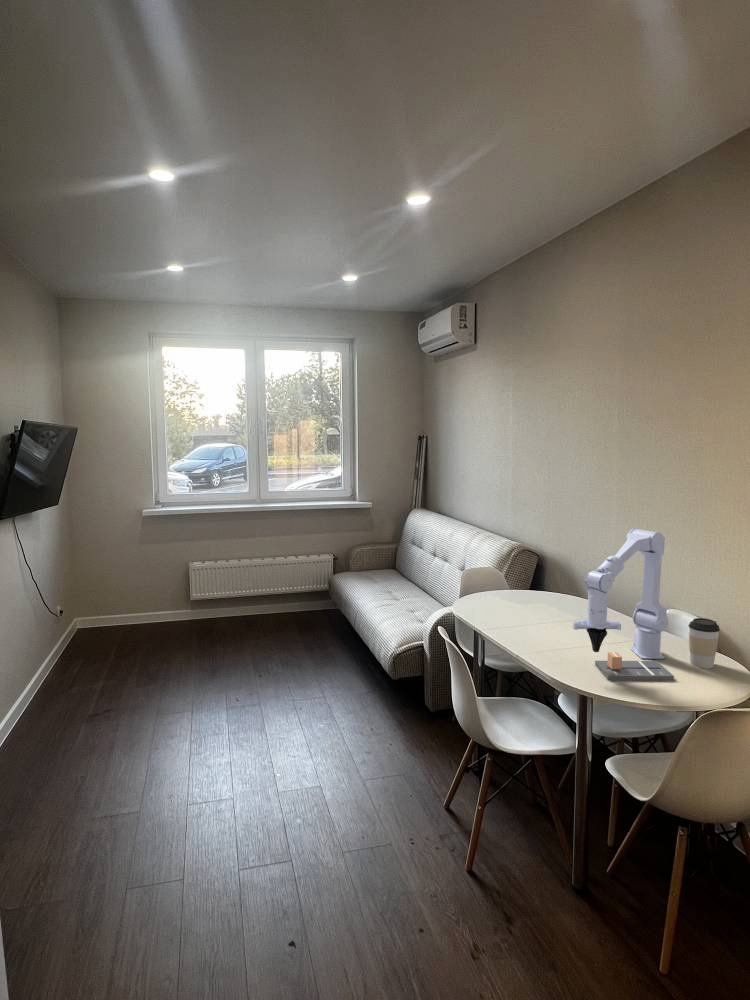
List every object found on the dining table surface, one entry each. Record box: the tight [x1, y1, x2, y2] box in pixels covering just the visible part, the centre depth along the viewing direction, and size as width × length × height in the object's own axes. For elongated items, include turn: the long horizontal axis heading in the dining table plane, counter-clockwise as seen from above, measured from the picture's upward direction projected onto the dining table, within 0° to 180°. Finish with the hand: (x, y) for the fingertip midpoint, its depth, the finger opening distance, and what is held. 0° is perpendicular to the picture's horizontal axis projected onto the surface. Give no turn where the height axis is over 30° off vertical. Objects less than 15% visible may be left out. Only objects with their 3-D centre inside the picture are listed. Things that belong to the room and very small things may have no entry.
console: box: [594, 660, 675, 682], centre depth 191 cm, size 12×20×2 cm, turn 88°
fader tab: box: [606, 651, 623, 669], centre depth 190 cm, size 4×3×4 cm
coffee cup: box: [688, 617, 721, 669], centre depth 196 cm, size 9×9×15 cm
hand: (595, 651), depth 190 cm, fingers closed
